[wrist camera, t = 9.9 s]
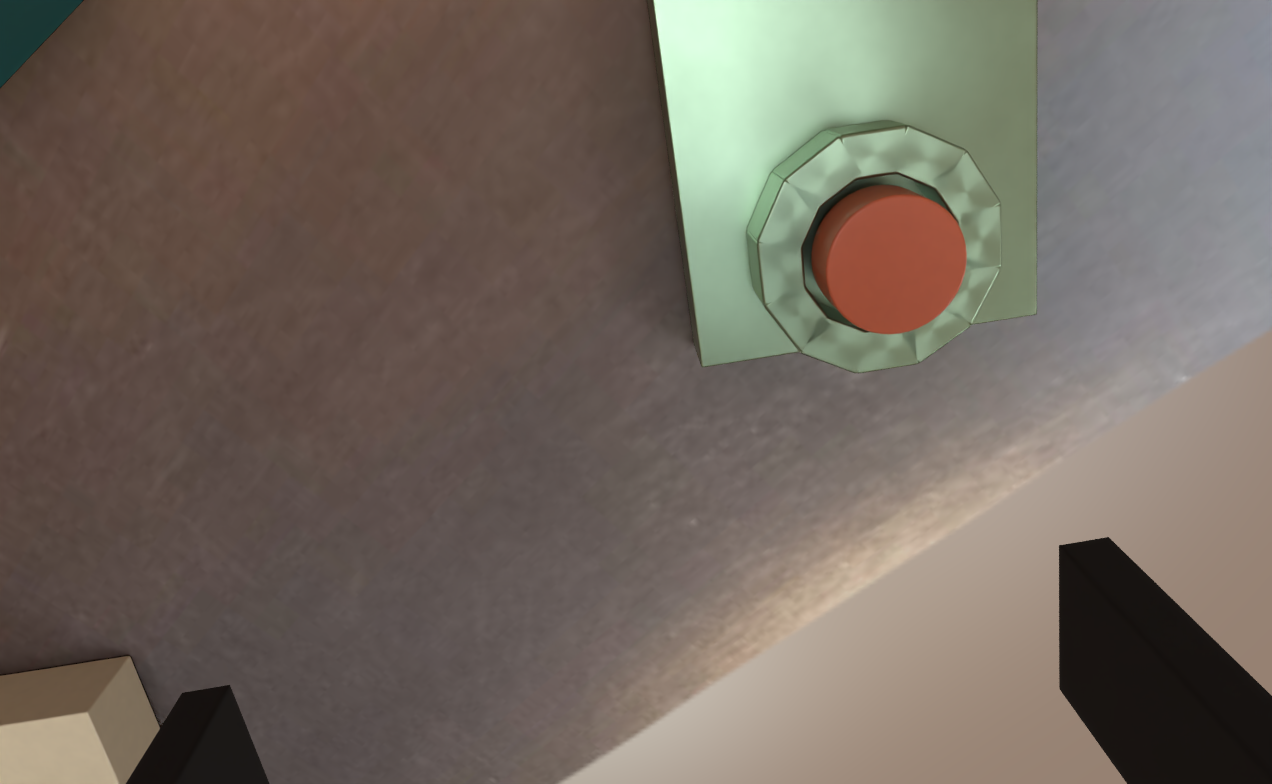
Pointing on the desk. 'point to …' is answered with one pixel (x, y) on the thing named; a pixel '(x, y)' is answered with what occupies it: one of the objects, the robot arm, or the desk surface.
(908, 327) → the bell button
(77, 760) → the lock plate
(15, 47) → the bracket
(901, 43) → the box
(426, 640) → the desk surface
